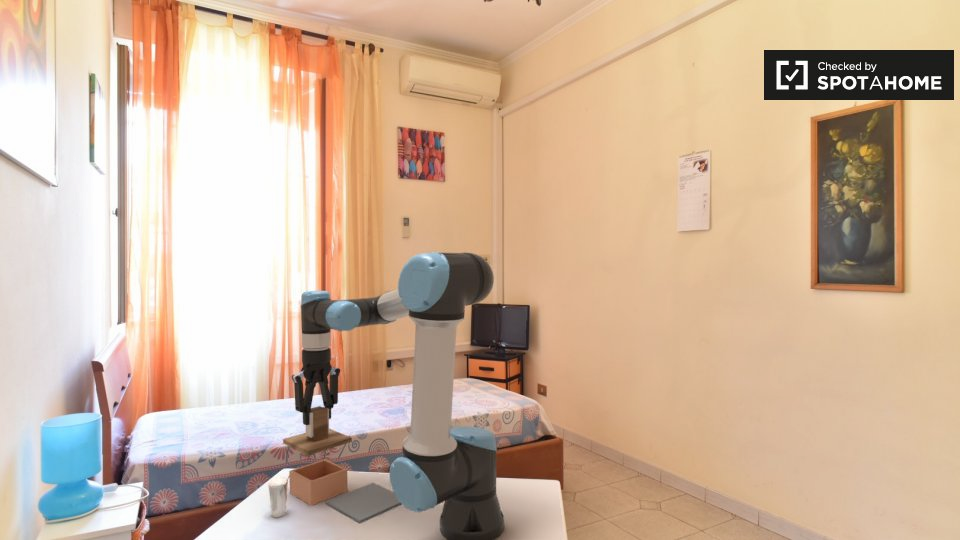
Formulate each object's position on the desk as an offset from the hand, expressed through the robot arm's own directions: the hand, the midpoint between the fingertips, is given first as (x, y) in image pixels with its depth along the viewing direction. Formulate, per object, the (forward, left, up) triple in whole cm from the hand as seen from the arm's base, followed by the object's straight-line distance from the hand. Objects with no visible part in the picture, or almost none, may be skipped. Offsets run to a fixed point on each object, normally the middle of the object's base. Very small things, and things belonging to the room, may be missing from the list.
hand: (317, 433), depth 142 cm
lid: (0, 0, -3) cm, 3 cm away
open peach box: (0, 0, -16) cm, 16 cm away
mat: (-15, -5, -16) cm, 23 cm away
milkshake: (-4, +13, -16) cm, 21 cm away
